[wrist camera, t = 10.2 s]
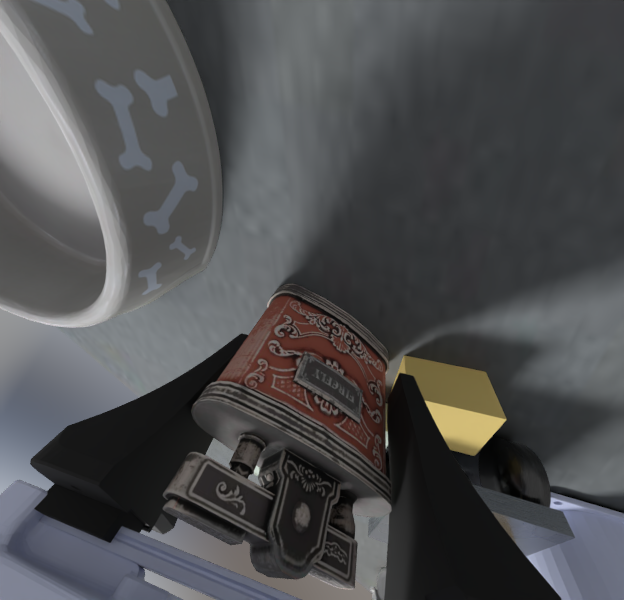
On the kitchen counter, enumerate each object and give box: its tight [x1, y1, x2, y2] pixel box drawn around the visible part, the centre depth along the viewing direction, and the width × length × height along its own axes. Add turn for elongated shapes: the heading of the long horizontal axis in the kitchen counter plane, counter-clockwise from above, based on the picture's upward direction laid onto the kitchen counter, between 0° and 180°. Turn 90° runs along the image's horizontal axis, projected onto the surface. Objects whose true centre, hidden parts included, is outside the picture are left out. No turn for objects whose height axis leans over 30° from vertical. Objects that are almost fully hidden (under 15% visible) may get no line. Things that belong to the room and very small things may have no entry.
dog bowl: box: [0, 0, 223, 327], centre depth 11 cm, size 17×18×5 cm
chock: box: [391, 355, 507, 456], centre depth 14 cm, size 4×4×3 cm
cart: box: [368, 437, 575, 556], centre depth 16 cm, size 8×11×7 cm
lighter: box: [163, 284, 391, 590], centre depth 10 cm, size 8×3×10 cm, turn 56°
